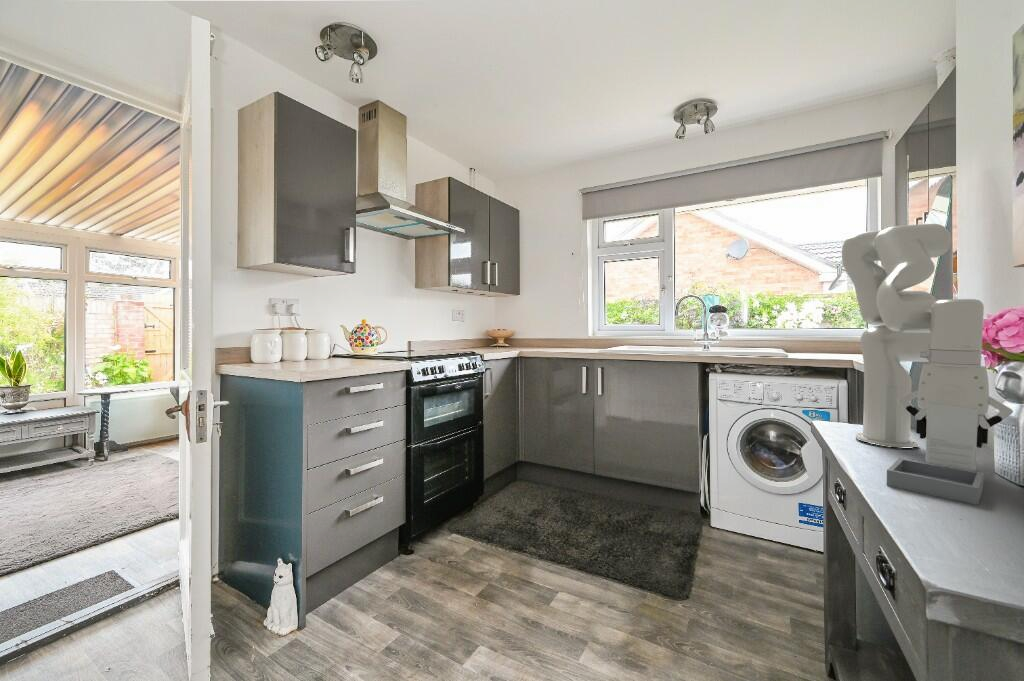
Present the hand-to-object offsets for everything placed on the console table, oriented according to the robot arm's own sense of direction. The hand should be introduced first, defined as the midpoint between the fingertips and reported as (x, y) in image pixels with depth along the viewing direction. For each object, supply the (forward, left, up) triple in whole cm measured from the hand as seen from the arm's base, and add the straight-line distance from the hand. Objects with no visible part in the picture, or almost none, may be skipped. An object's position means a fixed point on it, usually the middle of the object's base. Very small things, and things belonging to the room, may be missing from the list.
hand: (950, 441), depth 89 cm
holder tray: (+10, -8, -7) cm, 14 cm away
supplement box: (0, 0, -5) cm, 5 cm away
